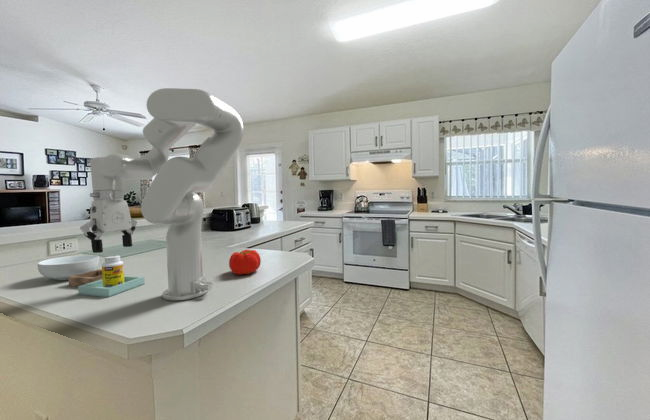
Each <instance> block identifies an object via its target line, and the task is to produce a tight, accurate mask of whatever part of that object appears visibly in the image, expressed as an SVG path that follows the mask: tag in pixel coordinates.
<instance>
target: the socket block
mask: <svg viewBox="0 0 650 420" xmlns="http://www.w3.org/2000/svg"><path fill="white" fill-rule="evenodd" d="M68 279H69V280H68V286H69V287H78V286H81V285H85V284H88V283H92V282H95V281H98V280H102V268H100V269H99V268H98V269H94V270H93V271H90V272H86V273H82V274H78V275H74V276H70V277H68Z"/></svg>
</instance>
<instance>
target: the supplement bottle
mask: <svg viewBox="0 0 650 420" xmlns="http://www.w3.org/2000/svg"><path fill="white" fill-rule="evenodd" d="M124 265H125V264H124V261H123V260H121V256H120V255H117V254H115V255H108V256H105V257H104V262H103V263H101V269H102V279H103V287H109V288H110V287H113V286H116V285H119V284H122V283H124V276H125V268H124Z"/></svg>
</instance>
